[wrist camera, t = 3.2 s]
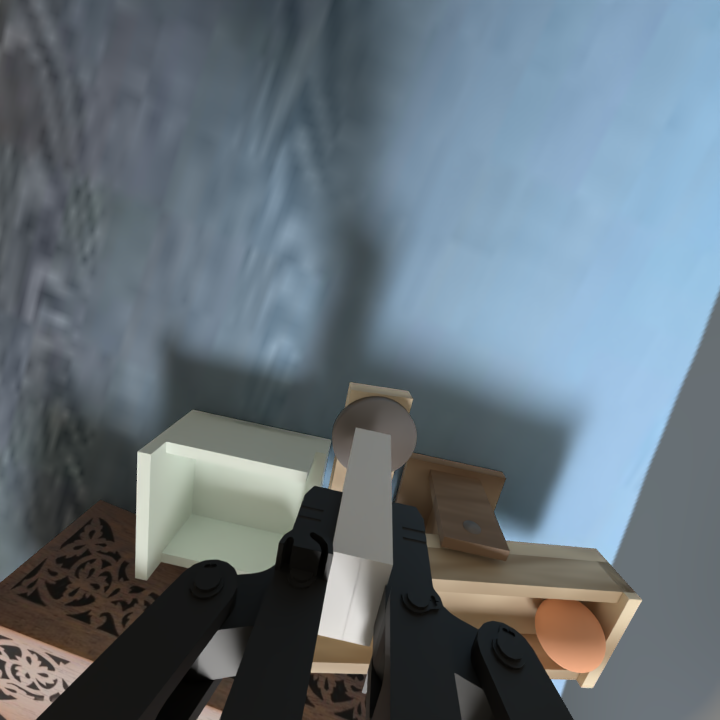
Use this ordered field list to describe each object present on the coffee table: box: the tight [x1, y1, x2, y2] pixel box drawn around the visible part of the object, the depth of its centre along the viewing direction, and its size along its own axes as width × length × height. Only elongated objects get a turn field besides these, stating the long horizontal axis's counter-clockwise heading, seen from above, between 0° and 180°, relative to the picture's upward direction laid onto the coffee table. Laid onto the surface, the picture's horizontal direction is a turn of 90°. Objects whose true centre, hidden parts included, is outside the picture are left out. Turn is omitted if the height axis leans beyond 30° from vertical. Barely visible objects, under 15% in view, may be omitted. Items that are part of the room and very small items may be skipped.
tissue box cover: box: [0, 500, 367, 720], centre depth 27 cm, size 26×14×10 cm, turn 67°
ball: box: [535, 599, 606, 673], centre depth 20 cm, size 4×4×4 cm
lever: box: [311, 382, 642, 688], centre depth 19 cm, size 16×18×3 cm
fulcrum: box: [395, 453, 510, 561], centre depth 24 cm, size 10×7×7 cm
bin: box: [135, 410, 331, 581], centre depth 24 cm, size 10×11×6 cm
